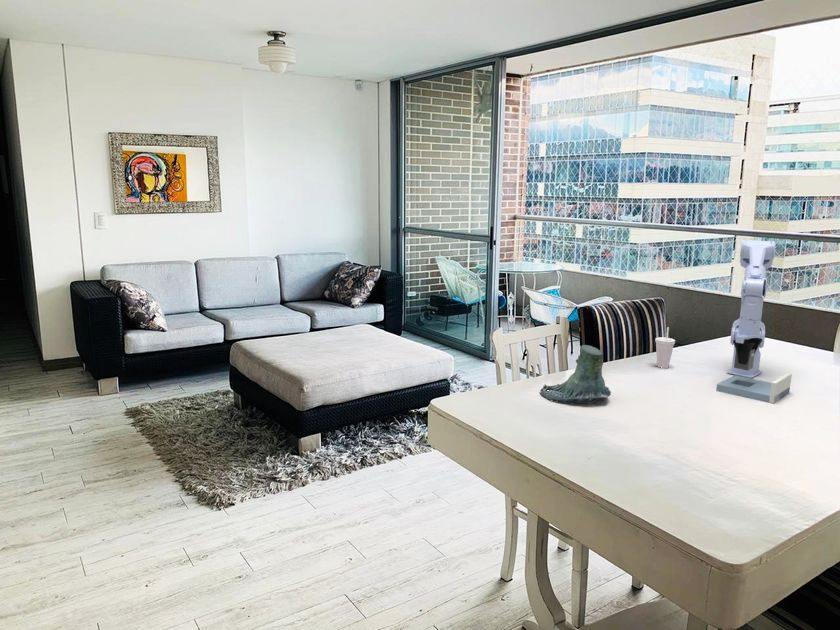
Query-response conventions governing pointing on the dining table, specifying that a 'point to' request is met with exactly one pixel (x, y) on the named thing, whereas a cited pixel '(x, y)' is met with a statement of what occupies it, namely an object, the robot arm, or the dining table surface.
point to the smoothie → (664, 350)
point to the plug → (749, 363)
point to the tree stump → (581, 380)
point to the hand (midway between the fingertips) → (745, 362)
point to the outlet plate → (757, 388)
